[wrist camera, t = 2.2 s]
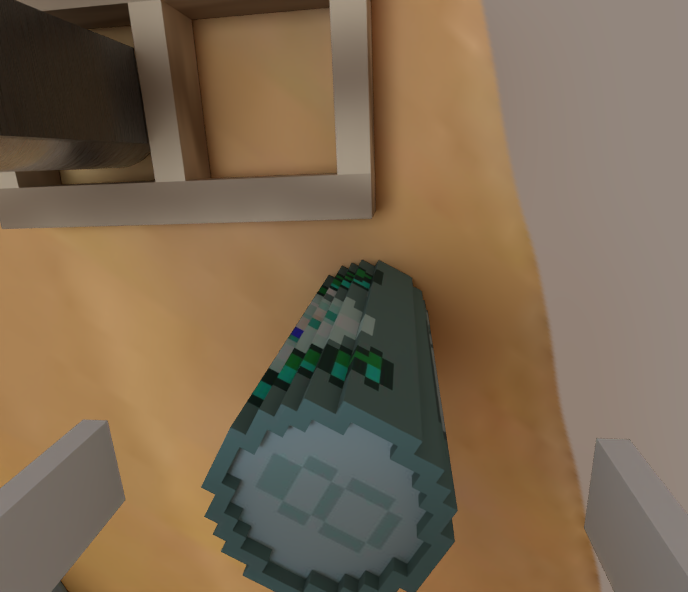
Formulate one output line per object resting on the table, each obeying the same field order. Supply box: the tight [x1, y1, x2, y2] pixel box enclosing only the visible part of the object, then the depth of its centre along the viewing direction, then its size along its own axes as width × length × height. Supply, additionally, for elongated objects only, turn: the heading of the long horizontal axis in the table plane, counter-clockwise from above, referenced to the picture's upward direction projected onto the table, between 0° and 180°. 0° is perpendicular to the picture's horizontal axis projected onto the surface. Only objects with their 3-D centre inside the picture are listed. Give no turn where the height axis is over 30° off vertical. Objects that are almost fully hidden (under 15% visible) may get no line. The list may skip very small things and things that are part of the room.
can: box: [201, 260, 458, 592], centre depth 18 cm, size 6×6×15 cm
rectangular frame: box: [0, 0, 376, 229], centre depth 22 cm, size 12×19×3 cm, turn 92°
